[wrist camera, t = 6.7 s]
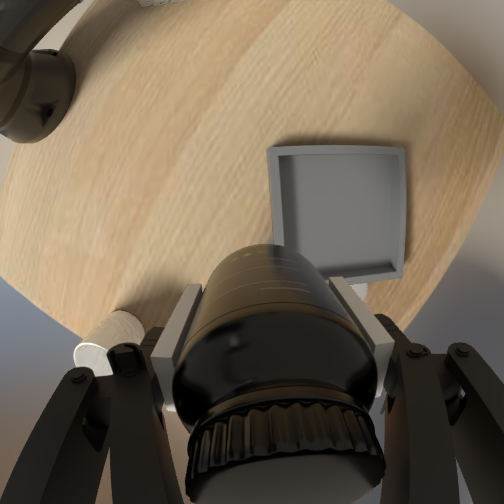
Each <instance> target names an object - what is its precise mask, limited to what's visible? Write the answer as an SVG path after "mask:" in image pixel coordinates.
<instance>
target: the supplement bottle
mask: <svg viewBox="0 0 504 504" xmlns="http://www.w3.org/2000/svg"><path fill="white" fill-rule="evenodd" d="M377 385H378V369H377V364H376V359H375V357H374V354H373V352H372V350H371V348H370V346H369V344H368V342H367V340H366V339H365V337H364V335H363V334H362V333H361V331H360V330H359V328H358V327H357V325H356V324H355V322H354V321H353V319H352V318H351V316H350V315H349V314H348V312H347V311H346V309H345V308H344V306H343V305H342V304H341V302H340V301H339V299H338V298H337V297H336V295H335V294H334V292H333V291H332V290H331V288H330V287H329V285H328V284H327V283H326V281H325V280H324V278H323V277H322V276H321V274H320V273H319V272H318V270H317V269H316V268H315V267H314V265H313V264H312V263H311V262H310V261H309V260H308V259H306V258H305V257H304V256H303V255H301V254H300V253H298V252H296V251H294V250H292V249H290V248H287V247H284V246H280V245H275V244H258V245H252V246H248V247H245V248H242V249H240V250H237V251H235V252H234V253H232V254H230V255H229V256H227V257H226V258H225V259H224V260H223V261H222V262H221V263H220V264H219V265H218V266H217V267H216V268H215V270H214V271H213V273H212V274H211V276H210V278H209V280H208V282H207V284H206V286H205V289H204V291H203V294H202V296H201V299H200V301H199V304H198V307H197V309H196V312H195V314H194V317H193V320H192V322H191V325H190V327H189V330H188V333H187V335H186V338H185V341H184V343H183V346H182V349H181V351H180V354H179V358H178V361H177V364H176V367H175V370H174V374H173V379H172V398H173V402H174V406H175V409H176V412H177V414H178V417H179V419H180V420H181V422H182V424H183V426H184V427H185V429H186V430H187V431H188V433H189V434H190V437H189V441H188V448H187V451H188V456H189V461H188V466H187V473H186V477H185V486H186V489H185V491H186V495H188V497H190V501H191V502H192V503H194V504H354V503H355V502H357V501H359V500H361V499H362V498H364V497H365V496H366V495H367V494H369V493H370V492H372V491H373V489H374V488H375V487H376V486H377V485H378V484H380V482H381V479H382V478H383V477H384V476H385V469H386V468H387V466H386V461H385V458H384V454H383V452H382V449H381V447H380V444H379V442H378V440H377V437H376V435H375V428H374V424H373V422H372V419H371V417H370V415H369V411H370V409H371V407H372V405H373V402H374V399H375V396H376V391H377Z"/></svg>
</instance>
